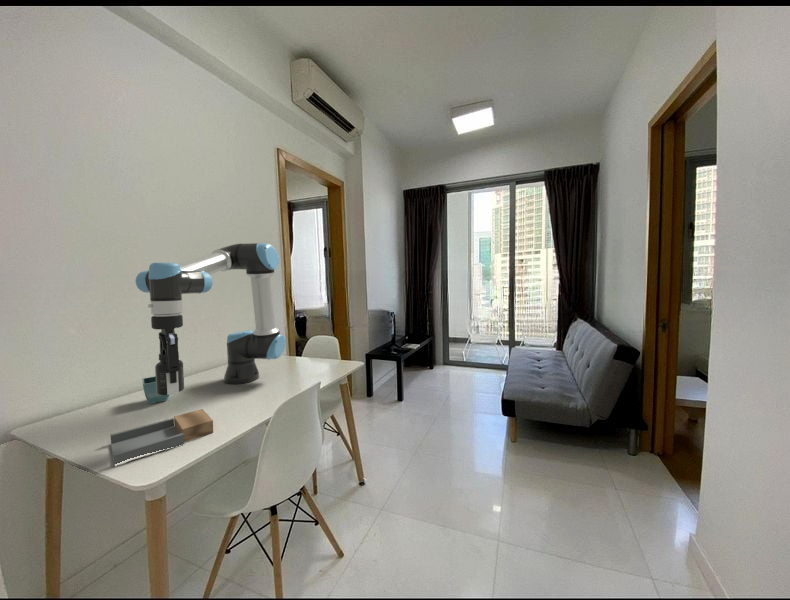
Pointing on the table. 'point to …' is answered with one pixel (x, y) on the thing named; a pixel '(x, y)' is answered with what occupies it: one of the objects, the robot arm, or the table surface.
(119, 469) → the table surface
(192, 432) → the walnut ledge
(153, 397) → the flower pot
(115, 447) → the grey tray
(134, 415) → the table surface
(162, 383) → the supplement bottle
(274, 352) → the robot arm
